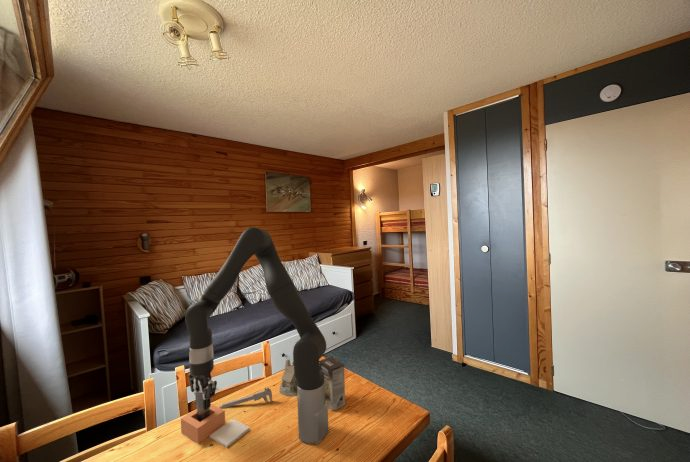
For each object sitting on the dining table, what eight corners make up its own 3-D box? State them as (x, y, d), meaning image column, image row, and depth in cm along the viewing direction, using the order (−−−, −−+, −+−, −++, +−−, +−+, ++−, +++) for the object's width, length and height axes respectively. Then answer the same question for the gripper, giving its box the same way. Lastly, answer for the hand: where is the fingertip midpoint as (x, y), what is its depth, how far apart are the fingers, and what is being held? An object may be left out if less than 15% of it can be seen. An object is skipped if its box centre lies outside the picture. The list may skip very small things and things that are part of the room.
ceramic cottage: (274, 389, 117) (275, 355, 117) (303, 374, 130) (304, 344, 130) (297, 406, 107) (298, 368, 107) (326, 388, 120) (327, 355, 119)
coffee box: (319, 400, 109) (318, 360, 109) (332, 394, 113) (331, 355, 113) (332, 411, 102) (331, 369, 102) (345, 404, 106) (344, 363, 106)
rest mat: (249, 429, 94) (249, 427, 94) (226, 447, 86) (226, 445, 86) (233, 420, 99) (232, 418, 99) (209, 437, 91) (209, 435, 91)
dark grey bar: (212, 422, 96) (211, 388, 96) (201, 429, 93) (200, 394, 92) (205, 418, 98) (204, 385, 98) (194, 425, 95) (193, 391, 95)
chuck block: (225, 424, 97) (224, 410, 97) (198, 443, 88) (197, 428, 88) (208, 415, 102) (208, 402, 102) (181, 432, 93) (180, 418, 93)
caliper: (272, 401, 110) (271, 385, 110) (271, 402, 109) (271, 387, 109) (219, 407, 107) (218, 391, 107) (218, 409, 106) (218, 393, 106)
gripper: (223, 357, 95) (225, 406, 95) (200, 349, 102) (201, 394, 102) (203, 367, 88) (204, 419, 88) (179, 358, 96) (181, 406, 96)
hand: (203, 406), depth 95 cm, fingers closed on dark grey bar, 4 cm apart
